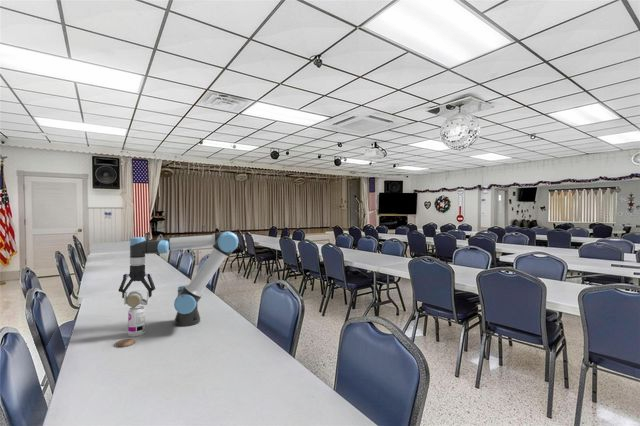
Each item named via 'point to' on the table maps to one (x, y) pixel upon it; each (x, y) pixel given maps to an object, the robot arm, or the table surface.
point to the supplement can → (136, 321)
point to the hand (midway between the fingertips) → (137, 303)
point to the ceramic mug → (135, 299)
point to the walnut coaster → (125, 343)
